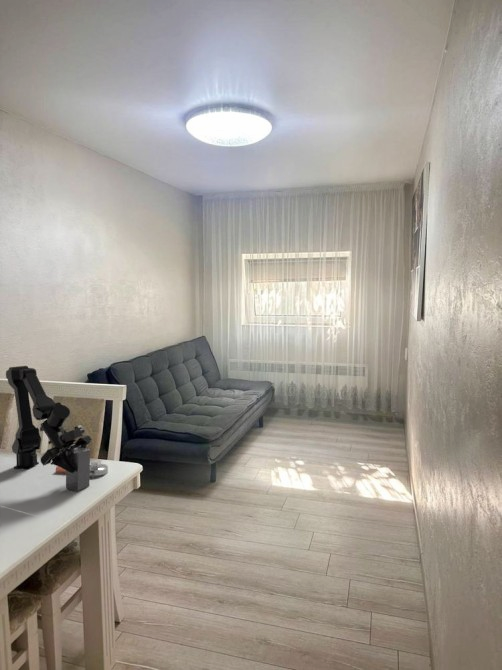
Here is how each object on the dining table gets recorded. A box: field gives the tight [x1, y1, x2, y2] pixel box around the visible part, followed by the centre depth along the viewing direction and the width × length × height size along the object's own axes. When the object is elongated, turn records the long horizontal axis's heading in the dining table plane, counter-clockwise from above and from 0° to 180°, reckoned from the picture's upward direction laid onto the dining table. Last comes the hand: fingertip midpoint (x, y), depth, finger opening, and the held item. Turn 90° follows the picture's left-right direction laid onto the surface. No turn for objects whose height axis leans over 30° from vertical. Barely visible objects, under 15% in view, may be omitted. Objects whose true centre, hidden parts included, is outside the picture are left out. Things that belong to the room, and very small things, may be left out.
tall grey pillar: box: [65, 447, 91, 492], centre depth 151 cm, size 5×5×13 cm
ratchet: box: [55, 459, 109, 479], centre depth 165 cm, size 19×8×4 cm, turn 82°
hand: (80, 469), depth 150 cm, fingers closed on tall grey pillar, 6 cm apart
